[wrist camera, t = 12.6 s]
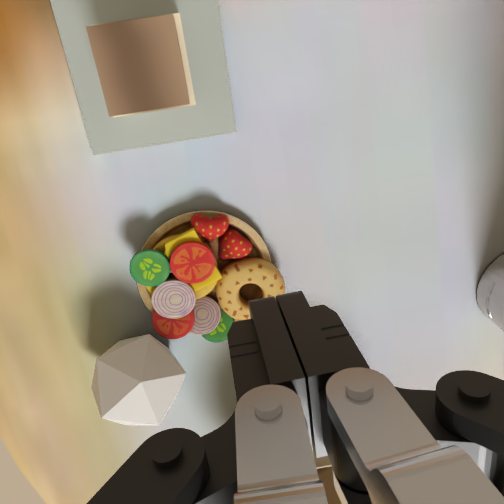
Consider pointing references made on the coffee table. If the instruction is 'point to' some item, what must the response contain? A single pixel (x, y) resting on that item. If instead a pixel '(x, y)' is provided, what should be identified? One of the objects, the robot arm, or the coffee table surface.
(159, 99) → the walnut cube
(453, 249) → the coffee table surface
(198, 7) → the board
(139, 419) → the die
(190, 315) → the toy food set
